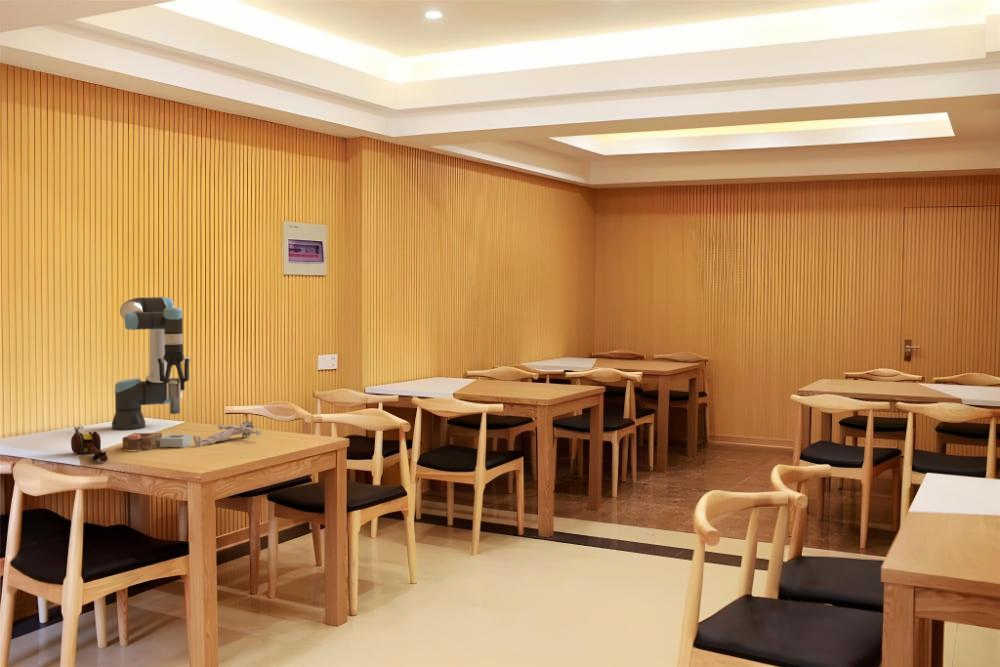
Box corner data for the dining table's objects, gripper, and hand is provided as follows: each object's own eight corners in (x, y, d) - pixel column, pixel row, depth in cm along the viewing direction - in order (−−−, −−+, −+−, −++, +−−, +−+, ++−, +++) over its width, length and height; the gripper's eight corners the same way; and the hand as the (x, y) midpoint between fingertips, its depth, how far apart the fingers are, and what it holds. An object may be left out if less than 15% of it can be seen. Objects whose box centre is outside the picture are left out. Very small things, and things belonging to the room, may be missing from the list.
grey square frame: (168, 443, 390) (168, 434, 390) (191, 443, 390) (191, 434, 390) (159, 447, 380) (159, 438, 380) (183, 447, 380) (182, 438, 380)
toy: (176, 433, 392) (231, 414, 416) (179, 451, 393) (234, 432, 417) (216, 439, 376) (271, 420, 400) (219, 458, 378) (274, 438, 402)
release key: (132, 447, 376) (132, 434, 376) (140, 447, 376) (140, 434, 376) (129, 448, 373) (128, 435, 372) (137, 448, 373) (137, 435, 372)
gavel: (118, 468, 351) (91, 471, 345) (94, 448, 378) (68, 450, 371) (118, 443, 350) (91, 446, 344) (94, 425, 376) (68, 427, 370)
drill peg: (171, 412, 387) (171, 377, 386) (181, 412, 387) (181, 377, 386) (167, 413, 382) (167, 379, 381) (178, 413, 382) (177, 379, 381)
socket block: (134, 444, 388) (134, 432, 388) (162, 444, 388) (161, 433, 388) (118, 451, 372) (118, 439, 372) (147, 451, 372) (147, 439, 372)
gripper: (150, 344, 379) (151, 398, 380) (190, 344, 379) (191, 398, 380) (156, 343, 387) (157, 396, 388) (196, 343, 386) (197, 396, 388)
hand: (174, 397), depth 384 cm, fingers closed on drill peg, 4 cm apart
